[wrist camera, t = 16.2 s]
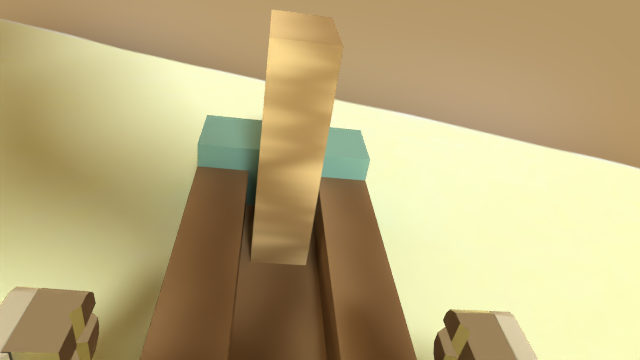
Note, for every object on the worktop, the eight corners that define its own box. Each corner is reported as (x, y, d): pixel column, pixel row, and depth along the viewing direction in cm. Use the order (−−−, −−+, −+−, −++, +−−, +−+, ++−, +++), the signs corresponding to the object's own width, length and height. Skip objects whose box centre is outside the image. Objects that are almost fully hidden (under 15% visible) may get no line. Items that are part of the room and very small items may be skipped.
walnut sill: (125, 495, 16) (111, 410, 13) (206, 179, 32) (207, 115, 30) (413, 492, 17) (453, 415, 14) (347, 191, 34) (360, 130, 31)
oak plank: (250, 262, 25) (269, 37, 18) (255, 207, 29) (271, 9, 22) (305, 265, 25) (343, 46, 19) (302, 210, 29) (332, 17, 23)
